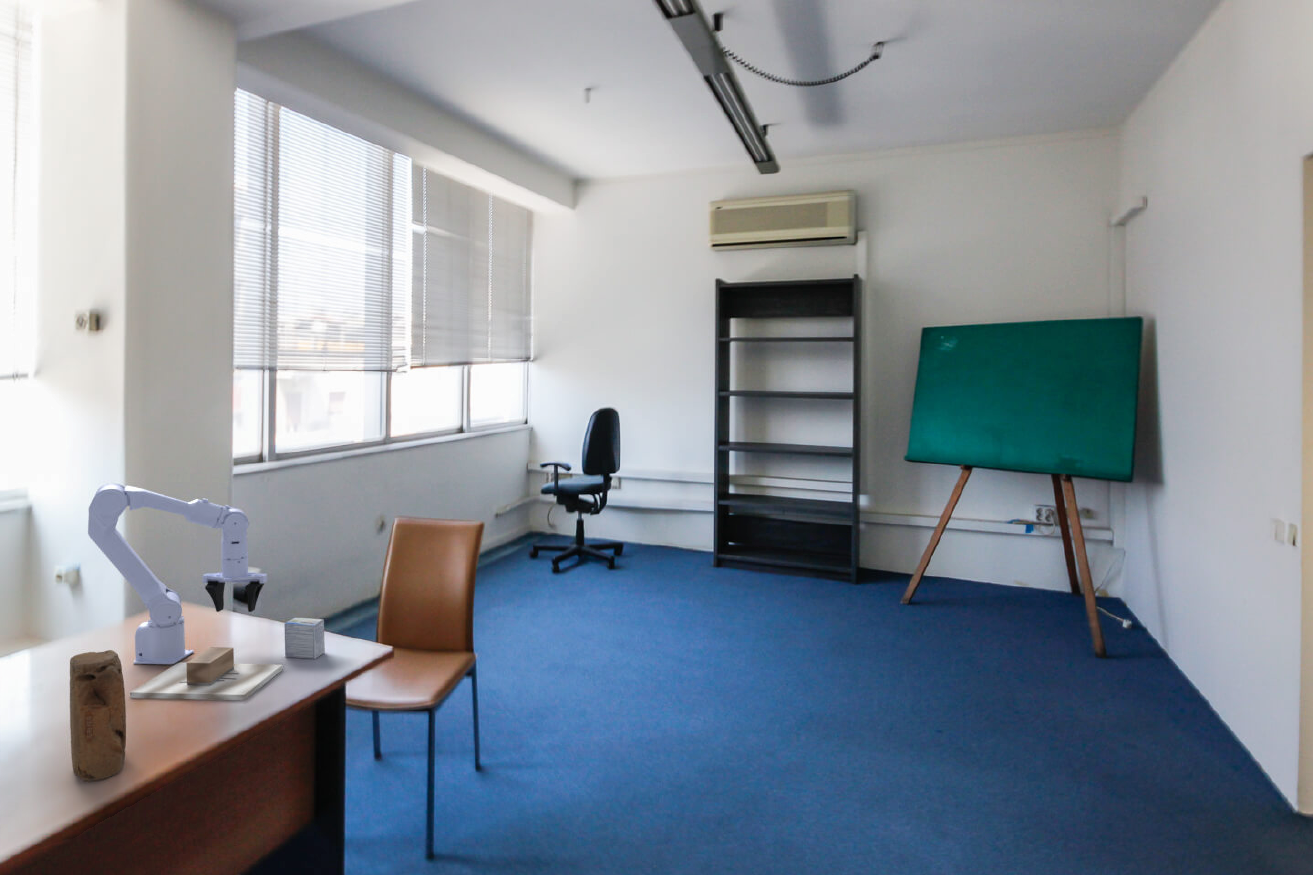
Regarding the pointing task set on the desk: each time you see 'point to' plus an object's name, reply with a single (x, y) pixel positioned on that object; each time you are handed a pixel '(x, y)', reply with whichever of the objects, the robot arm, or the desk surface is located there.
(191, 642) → the desk surface
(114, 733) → the block
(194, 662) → the block
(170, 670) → the board
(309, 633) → the medicine box
